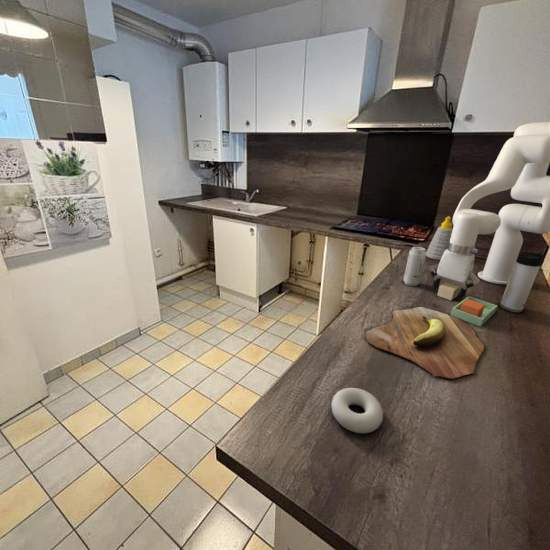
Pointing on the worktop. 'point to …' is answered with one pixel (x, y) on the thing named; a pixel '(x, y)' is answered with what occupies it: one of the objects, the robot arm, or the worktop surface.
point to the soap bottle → (440, 240)
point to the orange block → (472, 308)
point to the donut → (354, 420)
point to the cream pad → (448, 291)
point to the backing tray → (478, 321)
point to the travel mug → (521, 281)
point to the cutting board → (430, 341)
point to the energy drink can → (414, 266)
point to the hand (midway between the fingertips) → (447, 293)
